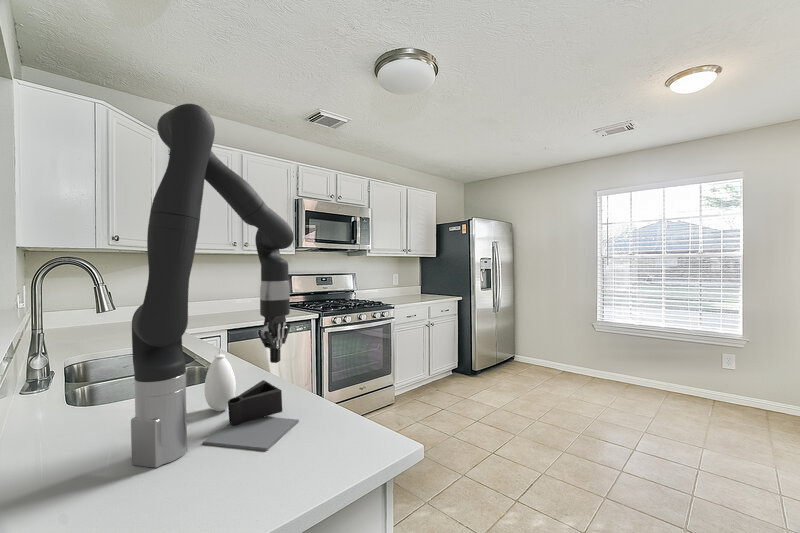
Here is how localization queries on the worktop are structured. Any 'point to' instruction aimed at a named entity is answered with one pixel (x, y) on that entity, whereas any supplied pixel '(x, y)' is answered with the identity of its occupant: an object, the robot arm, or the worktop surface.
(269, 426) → the rubber mat
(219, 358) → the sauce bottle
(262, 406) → the phone stand
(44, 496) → the worktop surface
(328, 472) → the worktop surface
